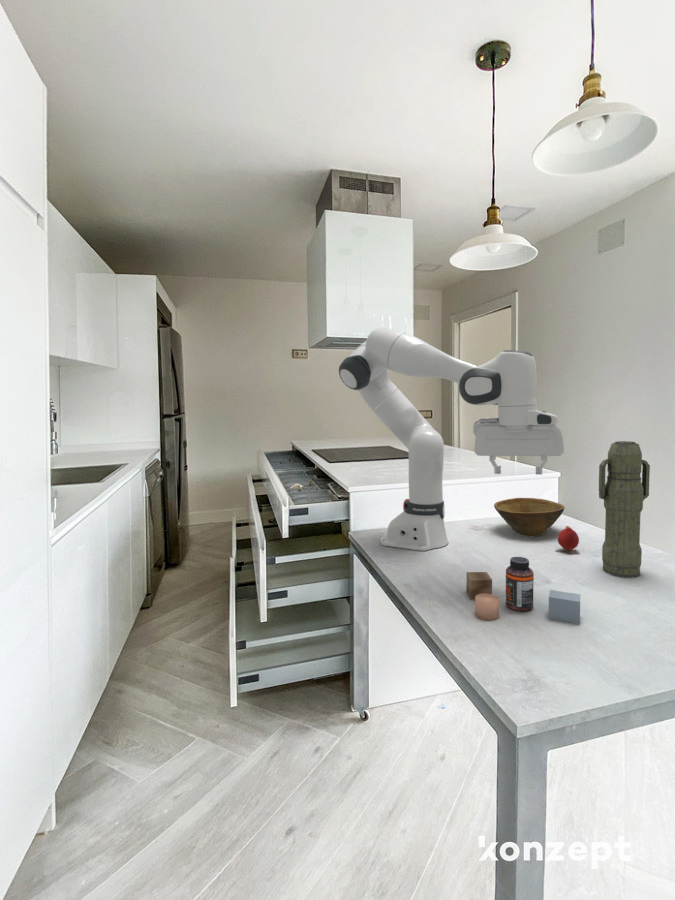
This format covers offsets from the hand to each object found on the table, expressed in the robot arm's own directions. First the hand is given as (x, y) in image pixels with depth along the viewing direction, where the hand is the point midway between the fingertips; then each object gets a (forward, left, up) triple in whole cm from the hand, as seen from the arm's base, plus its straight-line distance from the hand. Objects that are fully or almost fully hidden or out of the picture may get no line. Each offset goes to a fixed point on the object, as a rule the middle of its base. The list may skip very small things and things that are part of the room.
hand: (518, 473), depth 111 cm
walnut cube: (-9, -7, -29) cm, 31 cm away
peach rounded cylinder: (-7, -17, -29) cm, 34 cm away
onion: (+16, +31, -29) cm, 46 cm away
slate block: (+9, -14, -29) cm, 34 cm away
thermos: (+27, +17, -29) cm, 43 cm away
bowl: (+6, +49, -30) cm, 58 cm away
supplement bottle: (0, -11, -29) cm, 31 cm away
